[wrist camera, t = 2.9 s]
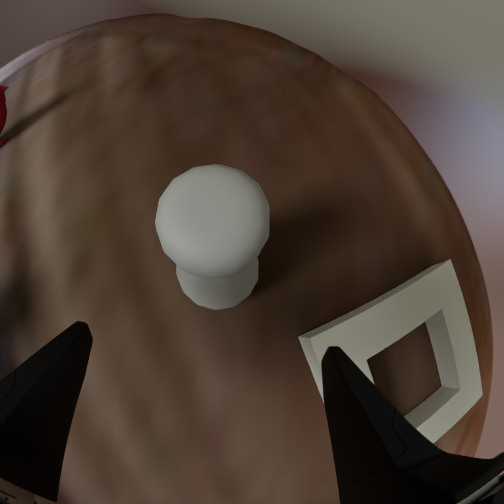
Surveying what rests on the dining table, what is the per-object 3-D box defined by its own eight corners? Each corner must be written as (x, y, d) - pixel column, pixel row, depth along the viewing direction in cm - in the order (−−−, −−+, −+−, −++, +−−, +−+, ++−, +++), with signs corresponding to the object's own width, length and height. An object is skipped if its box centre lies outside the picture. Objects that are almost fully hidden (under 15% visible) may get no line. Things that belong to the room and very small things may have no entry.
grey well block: (351, 477, 18) (365, 490, 15) (298, 336, 21) (309, 338, 18) (464, 392, 21) (482, 395, 18) (431, 266, 24) (450, 259, 21)
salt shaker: (205, 226, 22) (190, 118, 10) (267, 259, 22) (321, 180, 10) (168, 288, 21) (99, 239, 8) (232, 324, 21) (246, 327, 8)
